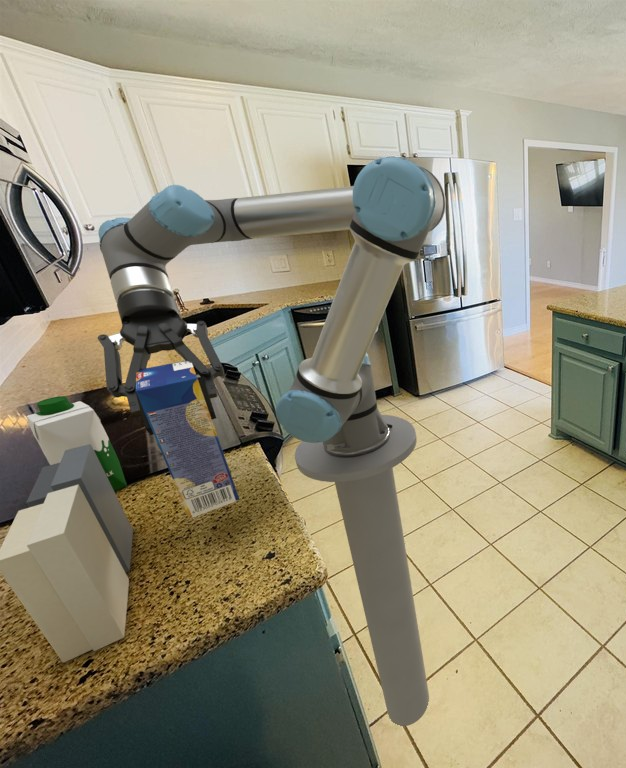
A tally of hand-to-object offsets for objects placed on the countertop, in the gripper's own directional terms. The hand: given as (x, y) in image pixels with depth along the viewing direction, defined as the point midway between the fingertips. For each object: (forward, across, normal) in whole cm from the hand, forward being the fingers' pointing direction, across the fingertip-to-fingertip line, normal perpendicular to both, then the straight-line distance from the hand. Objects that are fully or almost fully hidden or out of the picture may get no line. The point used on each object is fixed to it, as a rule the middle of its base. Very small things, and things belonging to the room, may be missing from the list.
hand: (182, 423), depth 62 cm
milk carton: (-7, +19, -39) cm, 44 cm away
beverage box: (+9, 0, -12) cm, 15 cm away
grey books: (+11, +16, -20) cm, 28 cm away
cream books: (+21, +16, -11) cm, 28 cm away
